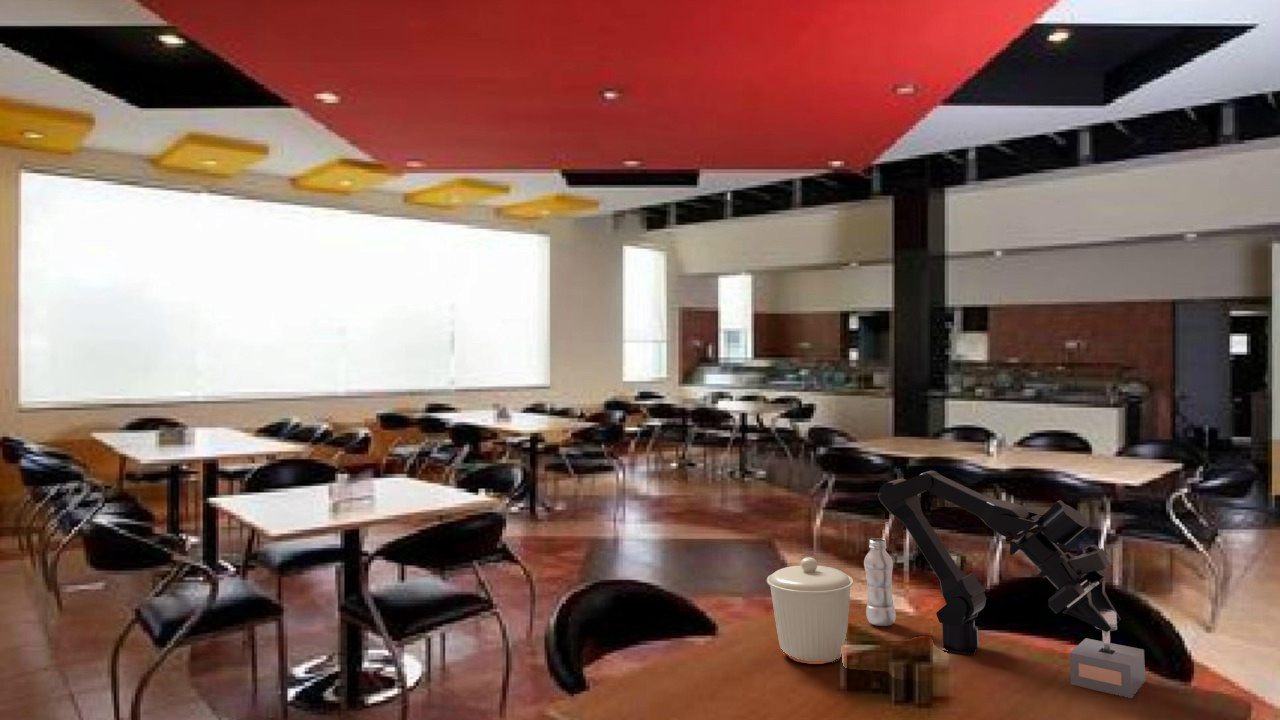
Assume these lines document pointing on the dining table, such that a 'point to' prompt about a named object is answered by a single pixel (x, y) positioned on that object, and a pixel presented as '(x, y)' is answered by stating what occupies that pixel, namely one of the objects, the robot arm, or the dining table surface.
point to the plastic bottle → (879, 584)
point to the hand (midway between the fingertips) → (1114, 625)
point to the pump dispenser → (1107, 668)
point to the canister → (811, 610)
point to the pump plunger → (1112, 621)
